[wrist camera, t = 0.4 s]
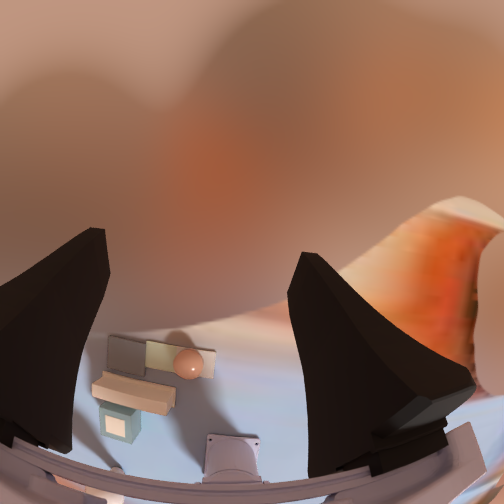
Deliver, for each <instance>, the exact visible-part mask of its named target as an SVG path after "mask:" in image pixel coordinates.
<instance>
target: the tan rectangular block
mask: <svg viewBox="0 0 504 504" xmlns="http://www.w3.org/2000/svg"><path fill="white" fill-rule="evenodd" d="M92 396H93V397H96V398H99V399H103V400H106V401H109V402H112V403H116V404H119V405H123V406H126V407H130V408H134V409H138V410H142V411H146V412H150V413H155V414H159V415H164V416H166V415H167V413H168V412H169V410H170V408H171V407H173V408H174V407H175V397H176V387H171V386H166V385H161V384H156V383H151V382H147V381H142V380H138V379H134V378H130V377H126V376H122V375H118V374H115V373H111V372H107V371H103V377H101V378H100V379H98V380H97V381H95V382H94V383H92Z"/></svg>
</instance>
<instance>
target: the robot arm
mask: <svg viewBox="0 0 504 504" xmlns="http://www.w3.org/2000/svg"><path fill="white" fill-rule="evenodd" d="M109 277H110V268H109V260H108V252H107V245H106V235H105V229H99V228H91V227H90V228H89V229H87V230H85V231H83V232H82V233H80V234H79V235H77V236H76V237H74V238H73V239H71V240H70V241H69V242H67V243H66V244H64V245H63V246H61V247H60V248H58V249H57V250H56V251H54V252H53V253H51V254H50V255H49V256H47V257H46V258H44V259H43V260H41V261H40V262H38V263H37V264H35V265H34V266H33V267H31V268H30V269H28V270H26V271H25V272H23V273H22V274H20V275H19V276H17V277H15V278H14V279H12V280H11V281H9V282H7V283H5V284H4V285H2V286H0V504H107V500H106V499H104V498H101V497H97V496H94V495H91V494H87V493H84V492H81V491H78V490H75V489H72V488H69V487H66V486H63V485H61V484H59V483H57V481H56V480H55V477H54V476H53V475H52V474H54V475H57V476H59V477H62V478H65V479H67V480H70V481H73V482H76V483H79V484H82V485H85V486H88V487H92V488H95V489H99V490H102V491H106V492H110V493H114V494H118V495H123V496H127V497H132V498H138V499H143V500H149V501H156V502H163V503H171V504H277V503H285V502H292V501H299V500H305V499H310V498H316V497H321V496H326V495H328V496H327V497H326V499H325V501H324V502H323V503H321V504H450V503H451V502H452V501H453V500H454V499H455V498H457V497H458V496H459V495H460V494H461V493H462V492H464V491H465V490H466V489H467V488H468V487H470V486H471V485H472V484H473V483H475V482H476V481H477V480H478V479H480V478H481V477H482V476H483V475H484V474H486V472H487V470H486V467H485V463H484V460H483V457H482V454H481V451H480V448H479V445H478V442H477V439H476V437H475V434H474V431H473V429H472V426H471V423H470V422H467V423H465V424H463V425H461V426H459V427H457V428H455V429H453V430H451V431H449V432H448V433H446V434H445V432H444V430H443V428H444V427H446V426H447V424H448V423H447V420H446V416H447V415H449V414H450V413H451V412H453V411H454V410H455V409H457V408H458V407H459V406H460V405H462V404H463V403H464V402H465V401H466V400H468V399H469V398H470V397H471V396H472V395H473V393H474V392H475V390H476V384H475V382H474V380H473V378H472V376H471V374H470V372H469V370H468V369H467V368H466V367H464V366H462V365H460V364H458V363H456V362H454V361H452V360H449V359H447V358H445V357H443V356H441V355H439V354H438V353H436V352H434V351H432V350H431V349H429V348H427V347H426V346H424V345H422V344H421V343H419V342H418V341H416V340H415V339H413V338H412V337H410V336H409V335H407V334H406V333H404V332H403V331H402V330H400V329H399V328H397V327H396V326H395V325H393V324H392V323H391V322H390V321H389V320H387V319H386V318H385V317H384V316H382V315H381V314H380V313H379V312H378V311H376V310H375V309H374V308H373V307H372V306H371V305H370V304H369V303H368V302H366V301H365V300H364V299H363V298H362V297H361V296H360V295H359V294H358V293H357V292H356V291H355V290H354V289H353V288H352V287H351V286H350V285H349V284H348V283H347V282H346V281H345V280H344V279H343V278H342V277H341V276H340V275H339V274H338V273H337V272H336V271H335V270H334V269H333V268H332V267H331V266H330V265H329V264H328V263H327V262H326V261H325V260H324V259H323V258H322V257H320V256H319V255H318V254H317V253H308V252H302V253H301V256H300V258H299V261H298V264H297V267H296V270H295V272H294V275H293V278H292V281H291V284H290V287H289V289H288V291H287V295H288V307H289V315H290V320H291V324H292V328H293V332H294V336H295V340H296V344H297V348H298V352H299V356H300V360H301V364H302V370H303V375H304V383H305V392H306V402H307V415H308V477H309V479H303V480H296V481H288V482H279V483H270V482H269V481H263V483H262V479H261V476H259V475H258V469H257V458H258V453H259V447H260V439H259V438H247V437H234V436H224V435H215V434H209V435H208V436H207V447H206V459H205V471H204V477H203V479H202V483H200V482H196V483H195V484H188V483H176V482H167V481H160V480H153V479H146V478H140V477H135V476H130V475H125V474H120V473H116V472H112V471H107V470H103V469H100V468H96V467H92V466H89V465H86V464H82V463H79V462H76V461H73V460H70V459H67V458H64V457H61V456H59V455H56V454H53V453H51V452H48V451H46V450H43V449H41V448H39V447H38V445H39V446H41V447H43V448H46V449H48V448H50V449H52V450H55V451H58V452H60V453H63V454H67V453H69V452H70V451H71V450H72V415H73V403H74V394H75V387H76V380H77V374H78V369H79V365H80V360H81V355H82V352H83V349H84V345H85V342H86V340H87V337H88V334H89V332H90V329H91V326H92V324H93V322H94V319H95V317H96V314H97V312H98V309H99V307H100V304H101V302H102V300H103V297H104V294H105V291H106V287H107V284H108V280H109ZM209 439H212V440H209ZM255 443H258V444H255ZM51 473H52V474H51ZM330 494H331V495H330Z"/></svg>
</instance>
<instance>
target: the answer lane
mask: <svg viewBox="0 0 504 504" xmlns="http://www.w3.org/2000/svg"><path fill="white" fill-rule="evenodd" d="M184 349H192V348H186V347H180V346H174V345H168V344H163V343H158V342H153V341H148V340H147V343H146V358H145V367H148V368H153V369H158V370H163V371H168V372H173V373H176V372H175V370H174V368H173V361H174V358H175V357H176V356H177V354H178V353H179V352H180V351H182V350H184ZM194 350H196V351H198V352H199V353H200V354H201V356H202V357H203V360H204V366H203V369H202V372H201V374H200V375H199V376H198V377H204V378H211V379H213V375H214V366H215V357H216V352H212V351H205V350H199V349H194Z"/></svg>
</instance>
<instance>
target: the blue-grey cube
mask: <svg viewBox="0 0 504 504" xmlns="http://www.w3.org/2000/svg"><path fill="white" fill-rule="evenodd" d="M99 417H100V430H101V435H103V436H106V437H109V438H113V439H116V440H119V441H122V442H126V443H129V444H132V443H133V442H134V440H135V439H136V437H137V436H138V434H139V433H140V431H141V410H138V409H134V408H130V407H126V406H123V405H119V404H116V403H112V402H109V401H105V402H104V403H103V404H102V405H101V406H99Z"/></svg>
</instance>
